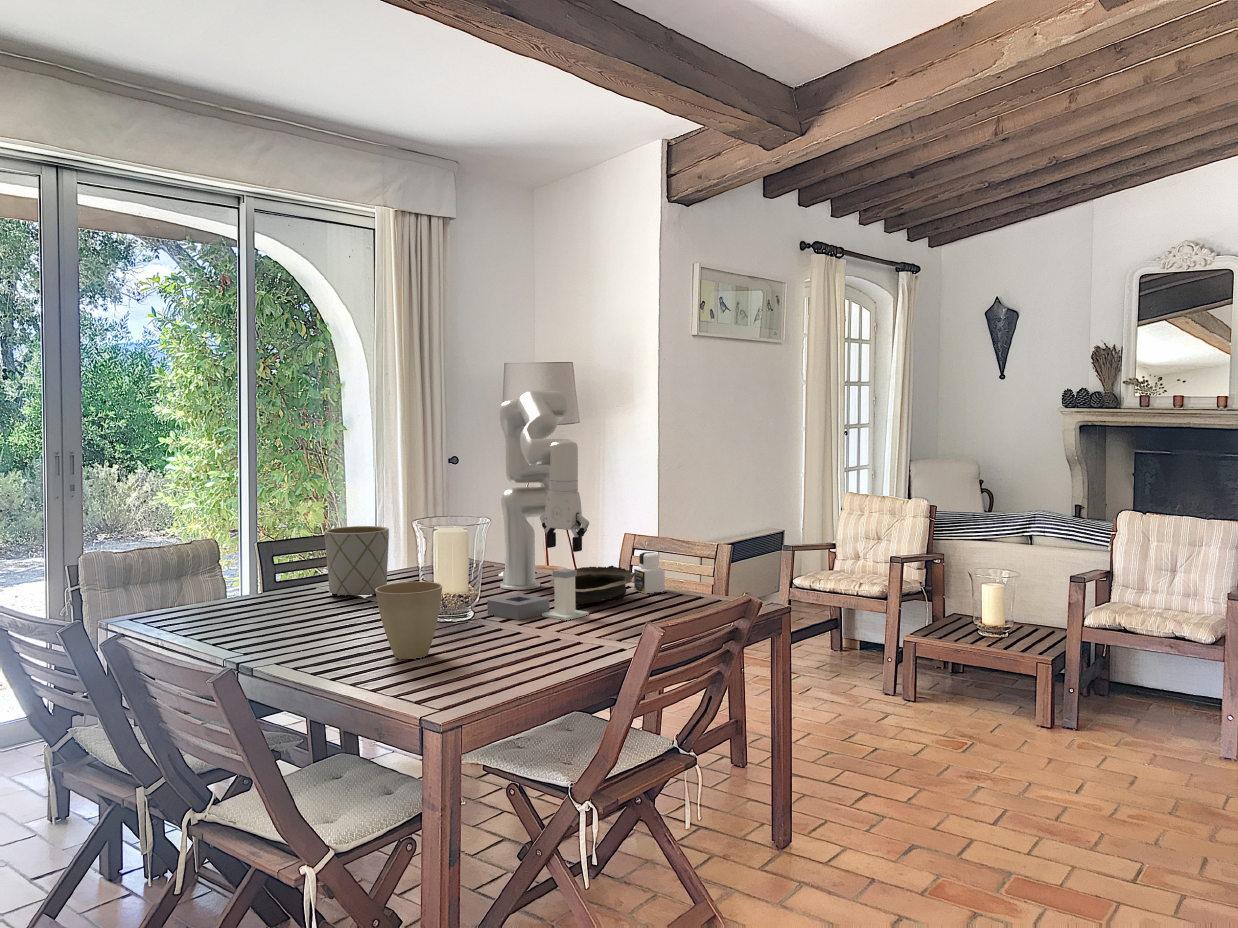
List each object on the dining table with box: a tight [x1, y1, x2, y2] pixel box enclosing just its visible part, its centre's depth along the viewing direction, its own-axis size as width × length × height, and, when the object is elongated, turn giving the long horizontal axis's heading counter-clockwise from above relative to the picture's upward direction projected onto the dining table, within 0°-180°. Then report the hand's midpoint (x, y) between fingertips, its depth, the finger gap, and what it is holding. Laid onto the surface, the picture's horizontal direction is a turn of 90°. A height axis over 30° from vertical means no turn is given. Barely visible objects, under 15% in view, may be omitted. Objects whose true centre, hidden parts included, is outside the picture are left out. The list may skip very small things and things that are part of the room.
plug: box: [552, 567, 577, 615], centre depth 263 cm, size 5×5×12 cm
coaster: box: [541, 609, 590, 621], centre depth 263 cm, size 9×9×1 cm
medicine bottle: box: [633, 551, 666, 595], centre depth 298 cm, size 7×7×12 cm
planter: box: [323, 525, 390, 597], centre depth 297 cm, size 19×19×20 cm
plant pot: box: [375, 581, 443, 660], centre depth 220 cm, size 15×15×16 cm
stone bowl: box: [548, 565, 634, 606], centre depth 283 cm, size 25×25×9 cm
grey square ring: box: [486, 593, 550, 621], centre depth 266 cm, size 12×12×4 cm
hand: (564, 549), depth 263 cm, fingers open, 9 cm apart
